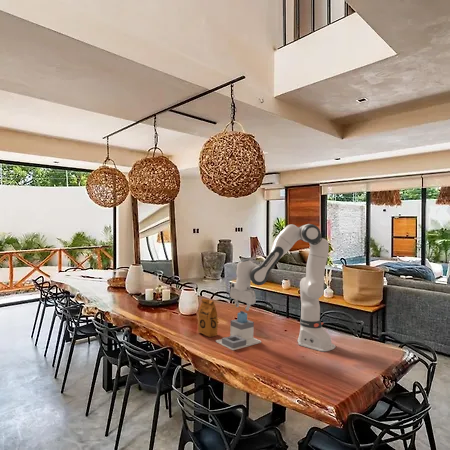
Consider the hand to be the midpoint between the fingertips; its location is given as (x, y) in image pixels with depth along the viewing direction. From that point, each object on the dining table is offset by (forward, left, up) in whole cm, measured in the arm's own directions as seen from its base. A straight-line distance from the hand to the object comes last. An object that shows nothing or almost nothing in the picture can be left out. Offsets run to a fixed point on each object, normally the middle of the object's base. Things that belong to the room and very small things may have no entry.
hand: (242, 308), depth 210 cm
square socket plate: (-3, +5, -19) cm, 20 cm away
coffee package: (+19, +12, -19) cm, 29 cm away
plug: (0, 0, -11) cm, 11 cm away
